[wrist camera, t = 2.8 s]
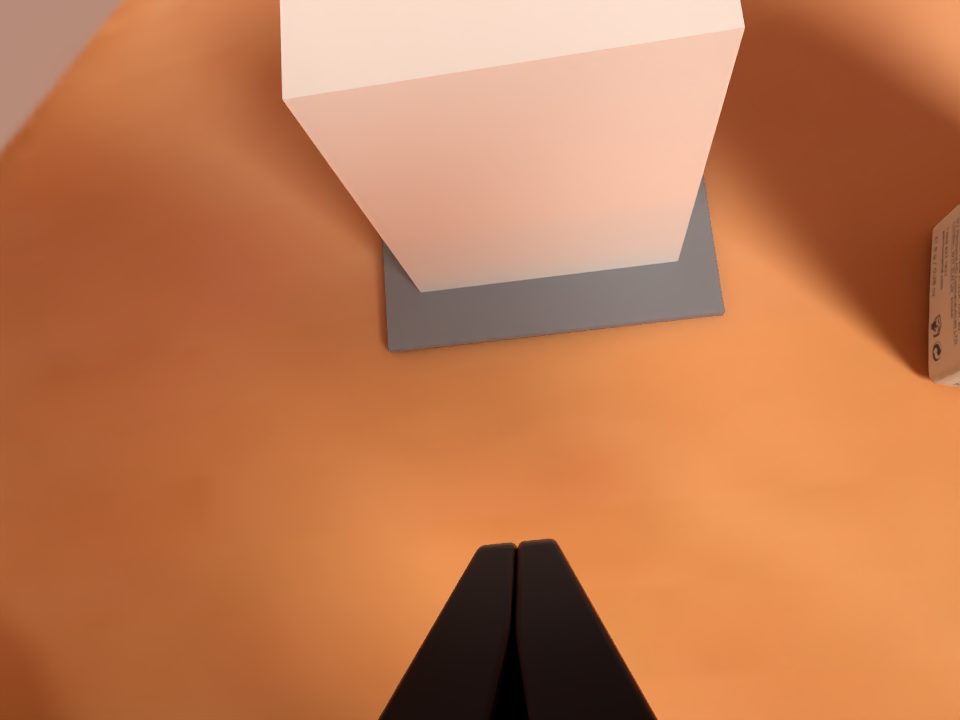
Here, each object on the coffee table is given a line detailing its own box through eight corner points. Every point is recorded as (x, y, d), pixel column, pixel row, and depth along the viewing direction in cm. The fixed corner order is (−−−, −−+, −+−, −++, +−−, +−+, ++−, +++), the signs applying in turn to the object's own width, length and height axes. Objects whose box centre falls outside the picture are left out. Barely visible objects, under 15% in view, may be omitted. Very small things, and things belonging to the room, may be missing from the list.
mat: (722, 314, 21) (724, 311, 21) (391, 352, 22) (388, 350, 22) (654, -125, 24) (655, -133, 24) (367, -73, 25) (365, -80, 25)
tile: (677, 261, 21) (744, 27, 11) (420, 292, 22) (282, 99, 12) (665, 175, 22) (719, -117, 12) (415, 208, 23) (278, -39, 13)
